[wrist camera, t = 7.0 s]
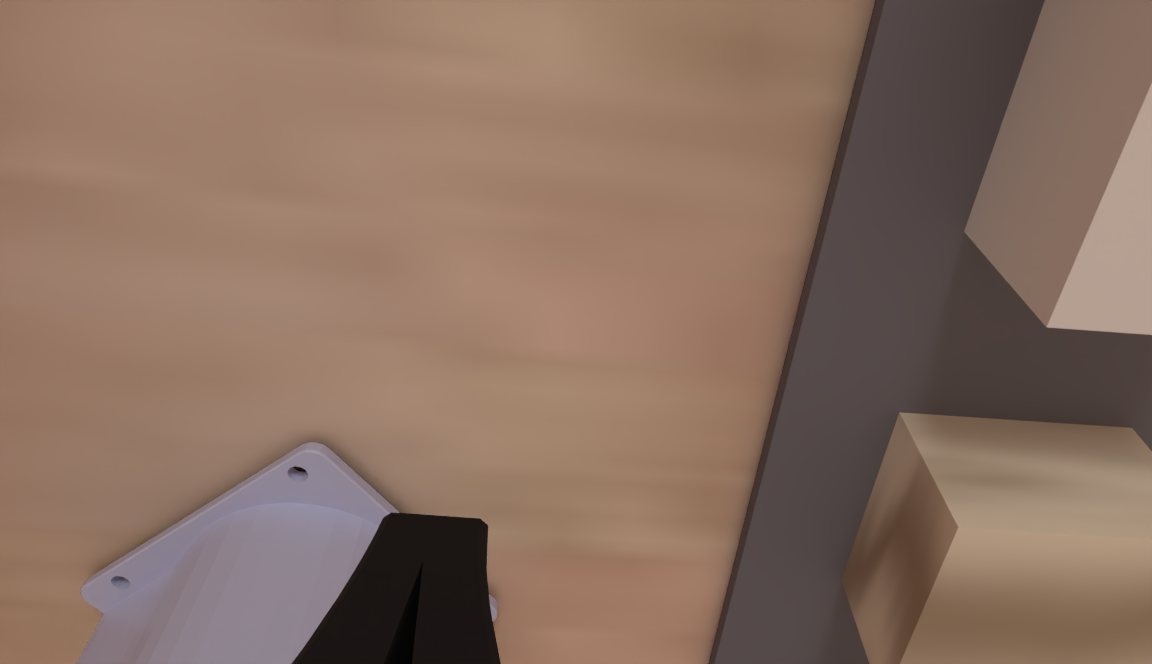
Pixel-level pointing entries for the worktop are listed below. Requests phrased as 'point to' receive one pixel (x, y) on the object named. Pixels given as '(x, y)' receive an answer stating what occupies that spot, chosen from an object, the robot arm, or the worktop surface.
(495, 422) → the worktop surface
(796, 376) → the tap mat
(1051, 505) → the plain block
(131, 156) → the worktop surface
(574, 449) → the worktop surface
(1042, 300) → the numeral block one
